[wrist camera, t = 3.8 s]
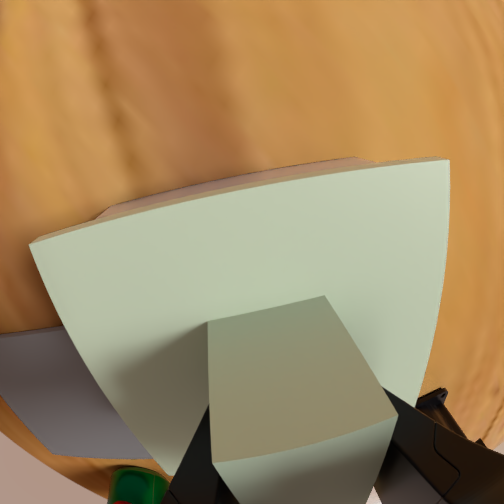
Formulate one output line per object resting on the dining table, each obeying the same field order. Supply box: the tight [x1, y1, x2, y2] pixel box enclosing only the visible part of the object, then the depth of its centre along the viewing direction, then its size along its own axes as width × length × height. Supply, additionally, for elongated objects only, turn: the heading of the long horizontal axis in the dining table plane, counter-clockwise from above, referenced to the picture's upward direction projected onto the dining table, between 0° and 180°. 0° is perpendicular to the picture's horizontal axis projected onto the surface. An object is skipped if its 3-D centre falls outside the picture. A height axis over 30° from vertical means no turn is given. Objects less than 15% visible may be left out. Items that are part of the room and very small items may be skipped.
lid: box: [29, 157, 450, 504], centre depth 7 cm, size 11×11×5 cm
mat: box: [0, 326, 154, 459], centre depth 15 cm, size 12×12×1 cm
